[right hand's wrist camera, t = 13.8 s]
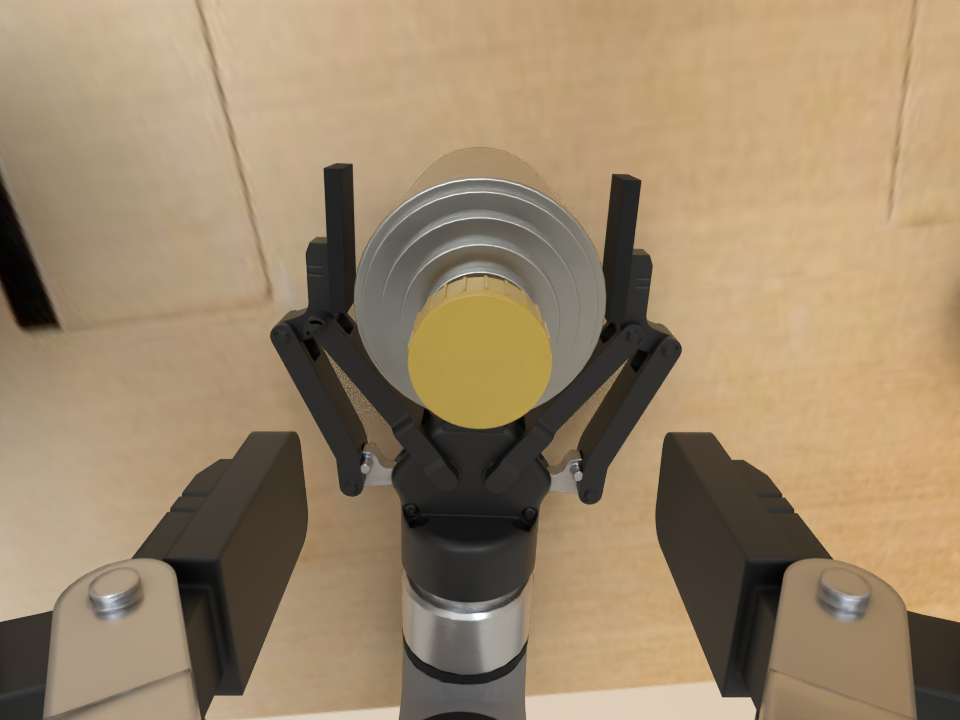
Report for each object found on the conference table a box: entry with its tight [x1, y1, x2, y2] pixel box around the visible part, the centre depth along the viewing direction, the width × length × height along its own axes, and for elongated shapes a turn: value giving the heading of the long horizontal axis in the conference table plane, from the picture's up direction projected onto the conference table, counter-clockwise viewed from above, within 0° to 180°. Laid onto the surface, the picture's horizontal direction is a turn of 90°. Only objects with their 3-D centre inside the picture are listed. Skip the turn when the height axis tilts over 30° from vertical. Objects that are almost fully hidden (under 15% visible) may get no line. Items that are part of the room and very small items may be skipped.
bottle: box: [354, 147, 606, 410], centre depth 27 cm, size 8×8×21 cm
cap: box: [407, 275, 553, 429], centre depth 18 cm, size 4×4×2 cm
